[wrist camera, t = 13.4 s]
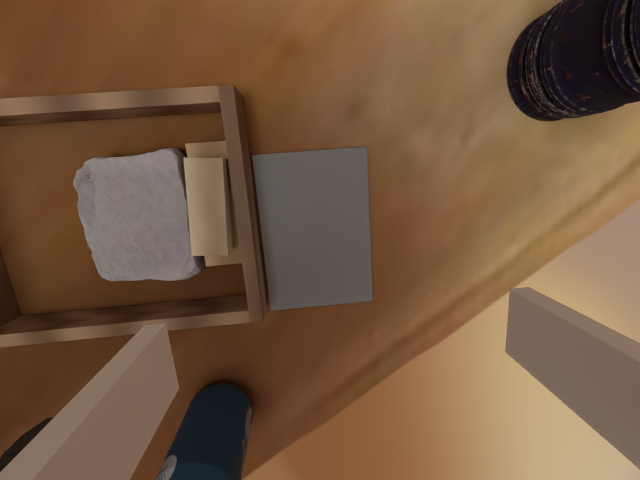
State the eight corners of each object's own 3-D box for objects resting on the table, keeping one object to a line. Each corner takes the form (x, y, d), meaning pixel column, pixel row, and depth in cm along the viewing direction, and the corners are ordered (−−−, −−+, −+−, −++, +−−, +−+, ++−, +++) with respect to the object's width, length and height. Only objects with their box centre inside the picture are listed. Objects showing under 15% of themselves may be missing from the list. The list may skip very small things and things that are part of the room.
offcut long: (214, 257, 32) (206, 266, 29) (196, 146, 29) (185, 143, 26) (249, 254, 32) (245, 262, 29) (234, 143, 29) (227, 140, 26)
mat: (270, 309, 33) (270, 310, 33) (252, 155, 29) (252, 154, 29) (372, 300, 34) (372, 300, 33) (366, 146, 30) (367, 146, 30)
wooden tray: (11, 327, 31) (-158, 421, 20) (-59, 115, 27) (-333, 73, 15) (267, 303, 33) (249, 377, 21) (242, 96, 28) (202, 44, 16)
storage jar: (553, 143, 31) (777, 120, 17) (484, 79, 29) (667, -10, 15) (625, 56, 30) (937, -52, 15) (557, -17, 28) (838, -219, 13)
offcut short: (201, 248, 28) (191, 255, 26) (194, 158, 27) (183, 157, 24) (234, 248, 29) (228, 255, 26) (229, 158, 27) (222, 158, 24)
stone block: (127, 274, 33) (216, 268, 31) (89, 291, 28) (191, 285, 26) (101, 158, 30) (196, 146, 29) (53, 155, 26) (164, 141, 24)
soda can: (179, 397, 35) (119, 514, 23) (231, 366, 34) (196, 469, 22) (217, 439, 36) (178, 568, 24) (266, 410, 36) (251, 527, 24)
